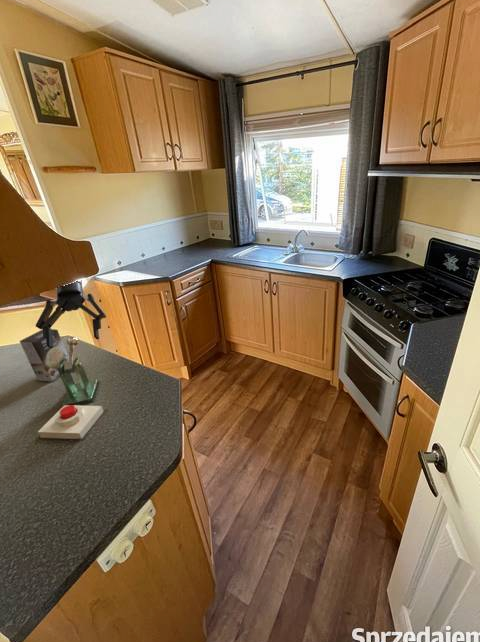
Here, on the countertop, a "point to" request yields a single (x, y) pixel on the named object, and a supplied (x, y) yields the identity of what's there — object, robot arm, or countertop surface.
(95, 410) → the white button base
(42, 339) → the coffee box
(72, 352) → the lever
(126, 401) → the countertop surface
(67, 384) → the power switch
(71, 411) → the stop button
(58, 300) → the robot arm
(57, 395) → the countertop surface
